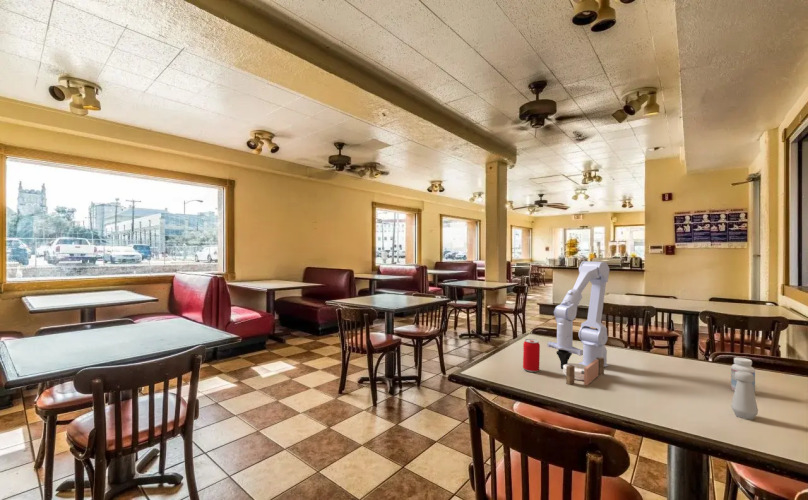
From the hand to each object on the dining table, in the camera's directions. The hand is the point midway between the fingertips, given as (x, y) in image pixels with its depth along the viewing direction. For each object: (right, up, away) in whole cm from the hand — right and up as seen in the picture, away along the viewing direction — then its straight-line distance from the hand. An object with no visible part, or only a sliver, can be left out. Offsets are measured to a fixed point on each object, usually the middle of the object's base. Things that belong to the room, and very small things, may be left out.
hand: (564, 369), depth 142 cm
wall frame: (+5, -1, -8) cm, 9 cm away
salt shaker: (+36, -2, -38) cm, 52 cm away
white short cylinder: (+3, -1, -5) cm, 6 cm away
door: (+6, -1, -9) cm, 11 cm away
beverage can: (-13, -1, +2) cm, 13 cm away
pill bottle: (+54, -2, -19) cm, 57 cm away
